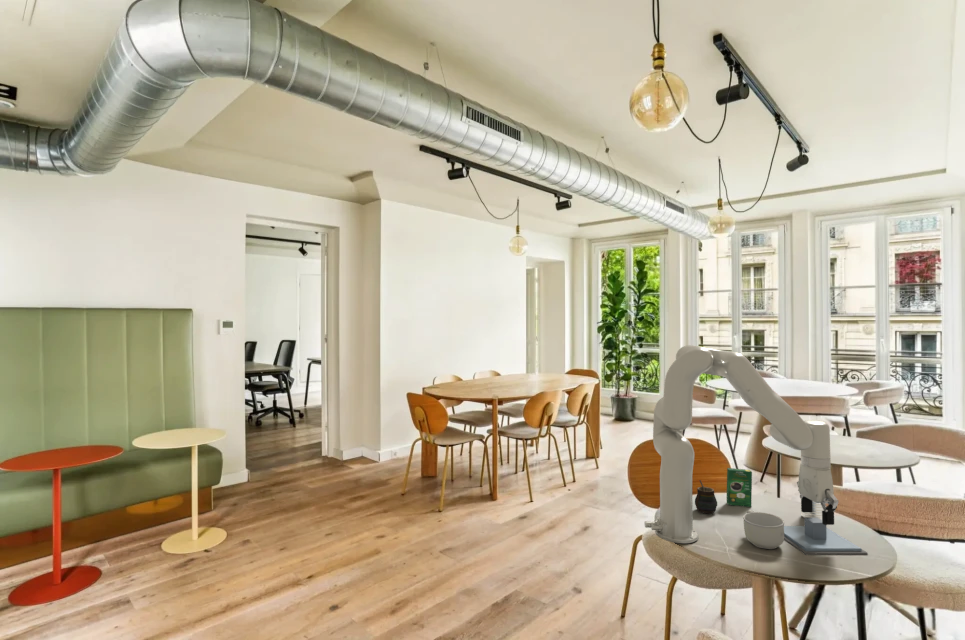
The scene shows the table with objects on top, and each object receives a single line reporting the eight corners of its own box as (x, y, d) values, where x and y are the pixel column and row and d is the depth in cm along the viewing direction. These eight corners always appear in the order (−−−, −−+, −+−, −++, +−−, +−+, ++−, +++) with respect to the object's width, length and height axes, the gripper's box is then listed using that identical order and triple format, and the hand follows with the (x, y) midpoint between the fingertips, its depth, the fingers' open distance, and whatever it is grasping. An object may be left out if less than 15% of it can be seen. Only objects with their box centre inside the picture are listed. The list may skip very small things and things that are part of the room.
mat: (804, 554, 144) (804, 552, 144) (769, 528, 162) (769, 527, 162) (867, 554, 144) (867, 552, 144) (824, 528, 162) (824, 527, 162)
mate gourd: (704, 516, 172) (703, 487, 172) (689, 508, 180) (689, 480, 180) (721, 514, 174) (721, 485, 174) (707, 506, 181) (706, 479, 182)
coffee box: (750, 504, 183) (750, 468, 183) (752, 507, 180) (752, 471, 181) (726, 502, 185) (726, 467, 185) (728, 505, 183) (727, 469, 183)
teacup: (790, 554, 144) (790, 526, 144) (749, 551, 146) (749, 523, 146) (772, 534, 158) (772, 508, 158) (735, 531, 160) (735, 506, 160)
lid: (806, 551, 145) (806, 531, 145) (774, 528, 161) (774, 510, 161) (861, 551, 145) (861, 531, 145) (823, 528, 161) (823, 510, 161)
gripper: (786, 454, 162) (787, 507, 161) (822, 470, 144) (824, 530, 144) (809, 454, 162) (811, 507, 161) (848, 469, 144) (850, 529, 144)
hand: (817, 517), depth 153 cm, fingers open, 9 cm apart
